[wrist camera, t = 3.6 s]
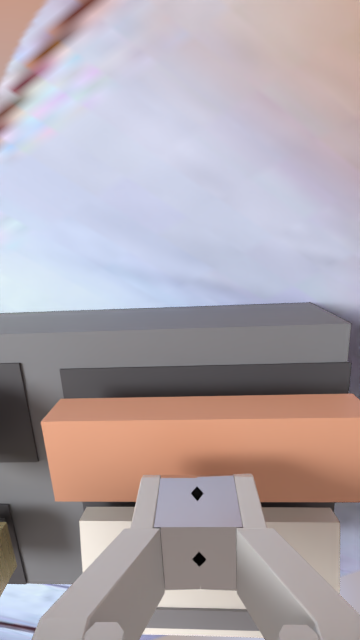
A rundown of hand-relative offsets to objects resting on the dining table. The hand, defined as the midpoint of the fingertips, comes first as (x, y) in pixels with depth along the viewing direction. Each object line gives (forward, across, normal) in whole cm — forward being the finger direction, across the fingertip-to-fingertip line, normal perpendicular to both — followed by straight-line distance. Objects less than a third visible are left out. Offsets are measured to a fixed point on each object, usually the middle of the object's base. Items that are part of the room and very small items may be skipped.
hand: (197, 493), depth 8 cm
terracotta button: (+2, 0, 0) cm, 3 cm away
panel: (+8, +3, +3) cm, 9 cm away
